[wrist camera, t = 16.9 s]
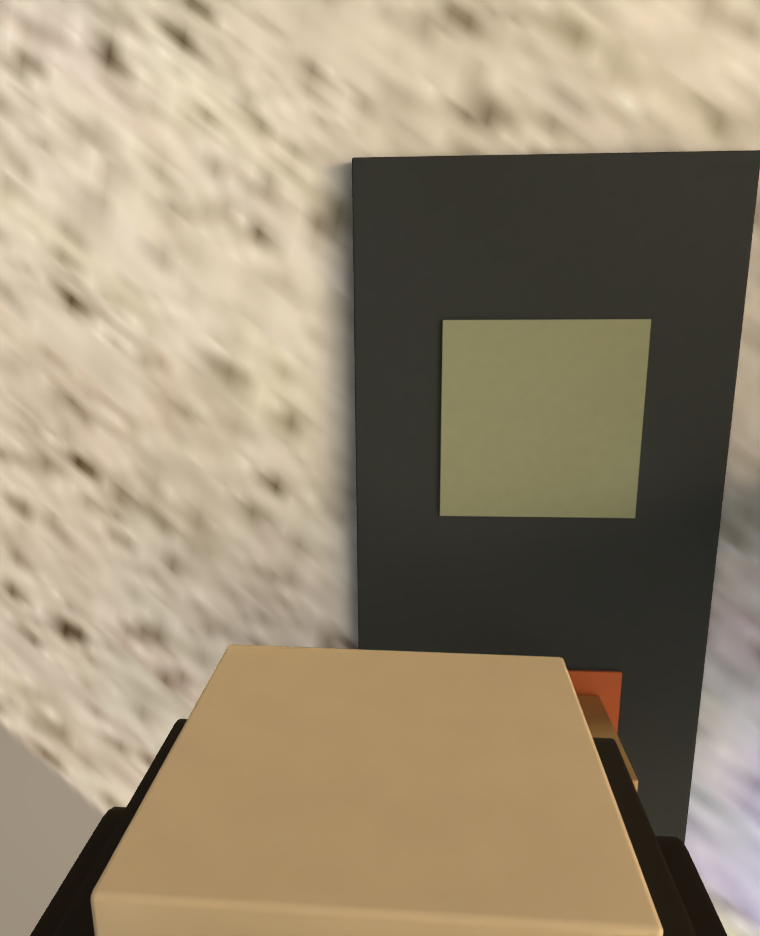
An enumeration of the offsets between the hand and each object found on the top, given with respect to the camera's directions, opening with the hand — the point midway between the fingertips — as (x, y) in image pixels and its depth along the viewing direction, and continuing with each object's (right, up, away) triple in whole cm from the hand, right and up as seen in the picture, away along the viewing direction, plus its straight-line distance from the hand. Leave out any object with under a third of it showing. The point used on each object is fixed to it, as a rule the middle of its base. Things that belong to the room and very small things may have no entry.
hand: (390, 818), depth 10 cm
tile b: (0, 0, +1) cm, 1 cm away
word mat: (+5, +1, +14) cm, 15 cm away
